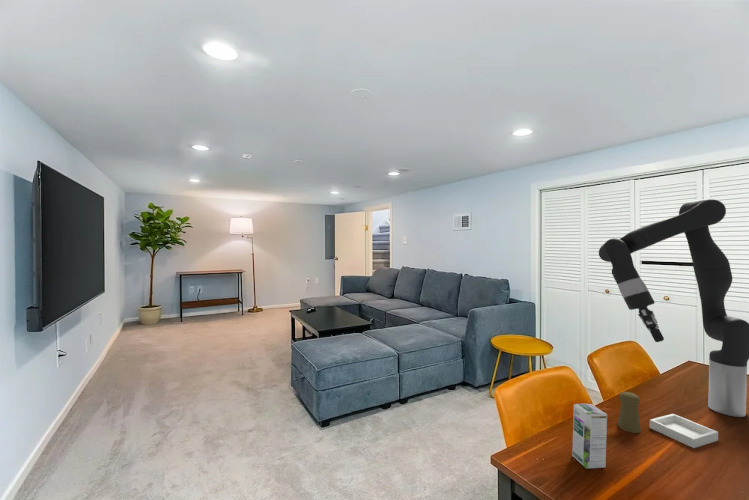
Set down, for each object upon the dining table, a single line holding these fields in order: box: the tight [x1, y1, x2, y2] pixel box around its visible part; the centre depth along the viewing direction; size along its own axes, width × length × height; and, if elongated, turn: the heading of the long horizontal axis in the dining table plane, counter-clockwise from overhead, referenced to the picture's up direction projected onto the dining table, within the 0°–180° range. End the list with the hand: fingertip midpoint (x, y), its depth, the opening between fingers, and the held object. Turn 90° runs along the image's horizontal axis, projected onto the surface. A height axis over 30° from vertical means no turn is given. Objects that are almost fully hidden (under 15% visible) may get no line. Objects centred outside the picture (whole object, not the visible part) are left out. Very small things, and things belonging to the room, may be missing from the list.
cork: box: [617, 391, 642, 434], centre depth 109 cm, size 6×6×11 cm
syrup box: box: [571, 403, 608, 469], centre depth 92 cm, size 6×6×14 cm
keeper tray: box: [649, 413, 719, 449], centre depth 105 cm, size 12×12×3 cm
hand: (660, 340), depth 111 cm, fingers open, 8 cm apart
